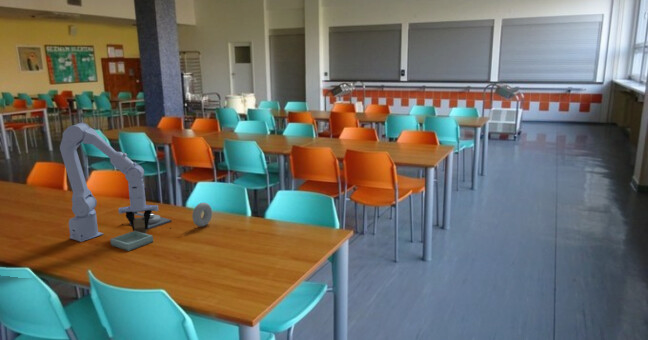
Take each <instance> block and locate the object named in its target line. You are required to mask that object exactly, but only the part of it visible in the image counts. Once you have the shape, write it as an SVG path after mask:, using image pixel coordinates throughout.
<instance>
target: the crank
mask: <svg viewBox="0 0 648 340" xmlns="http://www.w3.org/2000/svg"><path fill="white" fill-rule="evenodd" d="M154 215H155V213H153V212H151V215H150V218H153V217H154ZM134 216H139V217H143V216H144V212H134Z"/></svg>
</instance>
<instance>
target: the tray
mask: <svg viewBox="0 0 648 340" xmlns="http://www.w3.org/2000/svg"><path fill="white" fill-rule="evenodd" d="M109 240H110V246H112V247H115V248H118V249H120V250H121V249H122V250H125V251H128V252H131V251H132V250H135V249H139V248H141V247H142V246H146V245H149V244H151V243H154V236H153V235H151V234H148V233H146V234H145V233H142V232H138V231H133V230H132V231H130V232H127V233H125V234H121V235H118V236H115V237H112V238H110V239H109Z"/></svg>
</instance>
